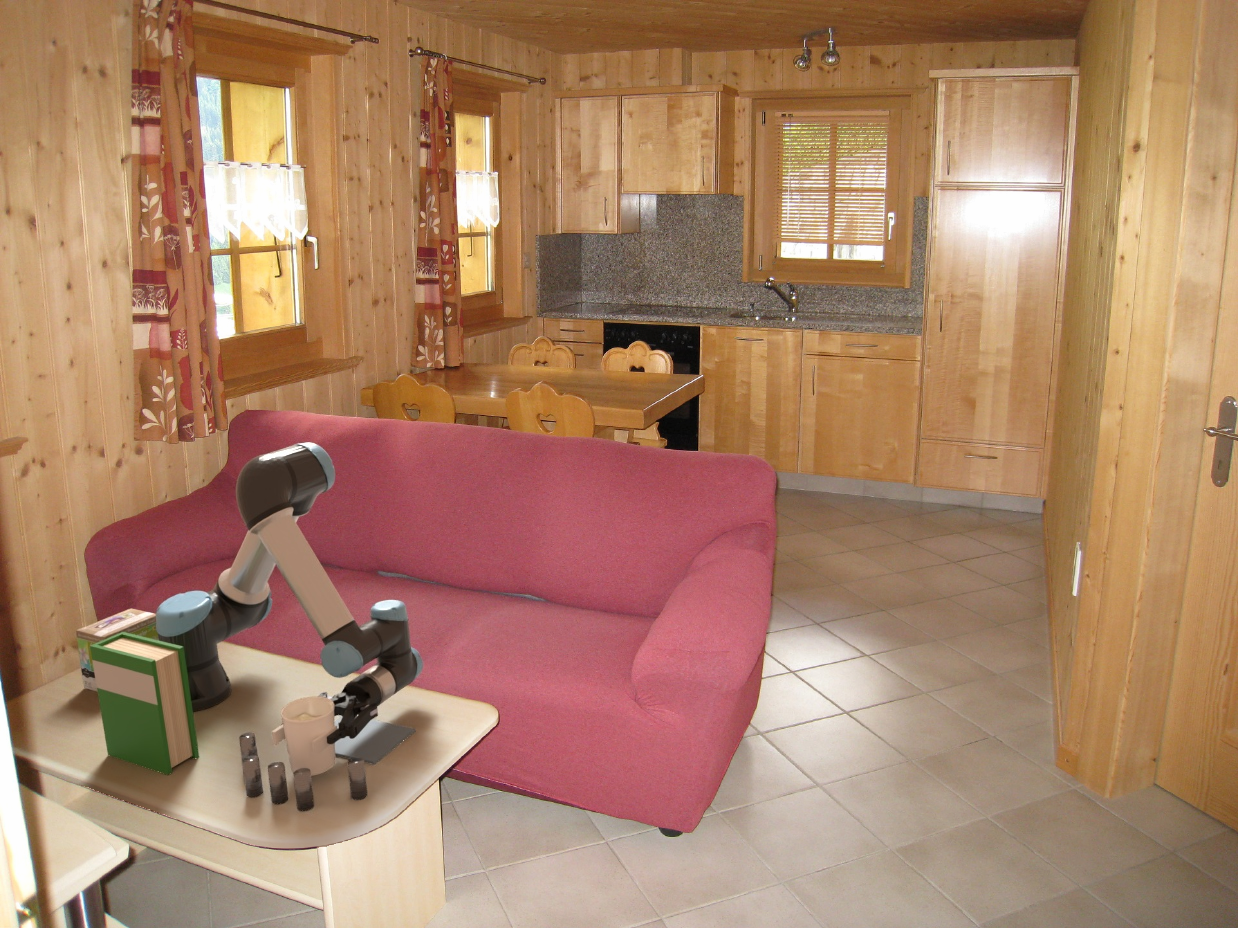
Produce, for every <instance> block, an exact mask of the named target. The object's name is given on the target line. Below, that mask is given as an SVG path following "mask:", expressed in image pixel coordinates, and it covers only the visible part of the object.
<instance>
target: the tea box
mask: <svg viewBox="0 0 1238 928" xmlns="http://www.w3.org/2000/svg"><path fill="white" fill-rule="evenodd" d="M121 632H126V633H130V634H134V635H138V636H142V637H146V638H150V639H154V640H158V641H159V638H158V632H157V630H156V613H153V612H149V611H144V610H140V609H136V608H128V609H126V610H123V611H121V612H118V613H116V614H113V615H111V616H108V617H106V618H104V619H101V620H99V621H98V620H97V621H95V622H93V623H91V624H89V625H86V626H83V627H80V628H78V629H76V630H75V634H76V641H77V648H78V649H77V650H78V656H79V664H80V668H81V669H80V671H81V678H82V684H83V688H84V689H87V690H91V691H93V692H97V693H98V691H97V685H96V679H95V673H94V667H93V661H92V655H91V649H90V646H91V645H93V644H95V643H98V642H100V641H103V640H105V639H107V638H110V637H112V636H114V635H117V634H119V633H121Z"/></svg>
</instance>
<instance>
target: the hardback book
mask: <svg viewBox="0 0 1238 928" xmlns="http://www.w3.org/2000/svg"><path fill="white" fill-rule="evenodd" d="M90 649H91V655H92V661H93V667H94V673H95V679H96V685H97V691H98V692H97V691H96V692H97V695H98V703H99V709H100V714H101V720H102V727H103V734H104V739H105V745H106V752H107V755H110V756H109V757H111V756H112V758H114V757H115V759H117V758H118V760H121V761H123V760H124V761H125V762H127V763H131V764H134V765H136V764H137V765H136V766H140V767H142V766H143V768H145V767H146V768H145V769H148V768H149V769H148V770H151V769H152V770H151V771H154V770H155V771H154V772H157V771H159V772H158V773H160V772H161V773H160V774H163V773H164V774H163V775H166V774H167V775H166V776H169V775H168V774H170V773H171V774H173V770H172V768H174V767H176V766H177V765H179V764H181V763H182V762H184V761H186V760H188V759H189V758H190V757H191V758H190V759H193V758H194V760H196V759H195V758H197V759H198V758H200V753H199V747H198V746H199V745H198V740H197V739H198V737H197V733H196V725H195V724H196V723H195V719H194V717H195V716H194V711H193V710H192V702H191V695H190V688H189V681H188V674H187V667H186V660H185V653H184V647H183V646H179V645H175V644H171V643H167V642H163V641H158V640H154V639H150V638H146V637H142V636H138V635H134V634H130V633H126V632H121V633H119V634H117V635H114V636H112V637H110V638H107V639H105V640H103V641H100V642H98V643H95V644H93V645H91V646H90ZM124 761H123V762H124ZM171 774H170V775H171Z"/></svg>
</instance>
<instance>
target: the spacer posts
mask: <svg viewBox="0 0 1238 928" xmlns="http://www.w3.org/2000/svg"><path fill="white" fill-rule="evenodd" d="M256 737H257V736H256V733H254V732H251V731H250V732H245V733H242V734H240V735H239V737H238V741H239V748H240V757H241V764H242V770H243V778H244V785H245V794H246V797H247V798H250V799H253V798H254V799H255V798H257V797H260V796H262V795H263V794H264V785H263V778H262V770H261V762H260V757H259V754H258V753H259V752H258V745H257V738H256ZM365 765H366V764H365V762H364V759H362V758H353V759H349V760H348V761H347V771H348V772H347V773H348V781H349V790H350V791H349V792H350V793H349V794H350V799H351V800H353V801H361V800H364V799H366V798H367V797H368V786H367V776H366V775H367V774H366V766H365ZM292 774H293V775H292V776H293V783H294V792H295V801H296V809H297V811H299V812H308V811H311V810H312V809H313V808H314V807H315V801H314V800H315V799H314V791H313V789H314V788H313V781H312V776H311V771H310V769H308V768H301V769H298V770H296V771H295V772H293V773H292ZM267 775H268V783H269V784H268V785H269V791H270V793H269V794H270V800H271V804H273V805H283V804H285V803H286V802H288V800H289V799H290V798H289V792H288V782H287V774H286V765H285V762H282V761H274V762H272V763H270V764H268V766H267Z"/></svg>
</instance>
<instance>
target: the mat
mask: <svg viewBox="0 0 1238 928" xmlns="http://www.w3.org/2000/svg"><path fill="white" fill-rule="evenodd" d="M342 717H343V716H339V718H338V719H336V720H335V726H337V729H338V728H339V725H338V722H339V723H340V722H341V719H342ZM416 731H417V730H416V728H414V727H410V726H405V725H402V724H401V725H400V724H397V723H392V722H386V721H382V720H376V719H374V718H373V719H372V720H370V722H369V723H368V724H367V725H366V726H365V727H364V728H363V730H362V731H361V732H360V733H359V734H358V735H357V736H356V737H355V738H354V739H350V738H349V736H346V737H345V738H341V739H339V740H338V741H337V742H335V757H339V758H340V757H341V758H344V759H347V760H348V759H349V760H351V759H353V758H362V759H364V763H366V764H370V765H376V764H377V763H379V762H380V761H381V760H382V759H383V758H385V757H386V756H387V755H388V754H390V753H391V752H392V751H393V750H395V749H396V748H397V747H398V746H400V745H401V744H403V742H404V741H406V740H407V739H408V738H409V737H410V735H411V736H412V735H413V734H414V733H415V732H416ZM412 733H413V734H412ZM407 737H408V738H407ZM405 739H406V740H405ZM403 740H404V741H403ZM400 743H401V744H400ZM394 748H395V749H394Z"/></svg>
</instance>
